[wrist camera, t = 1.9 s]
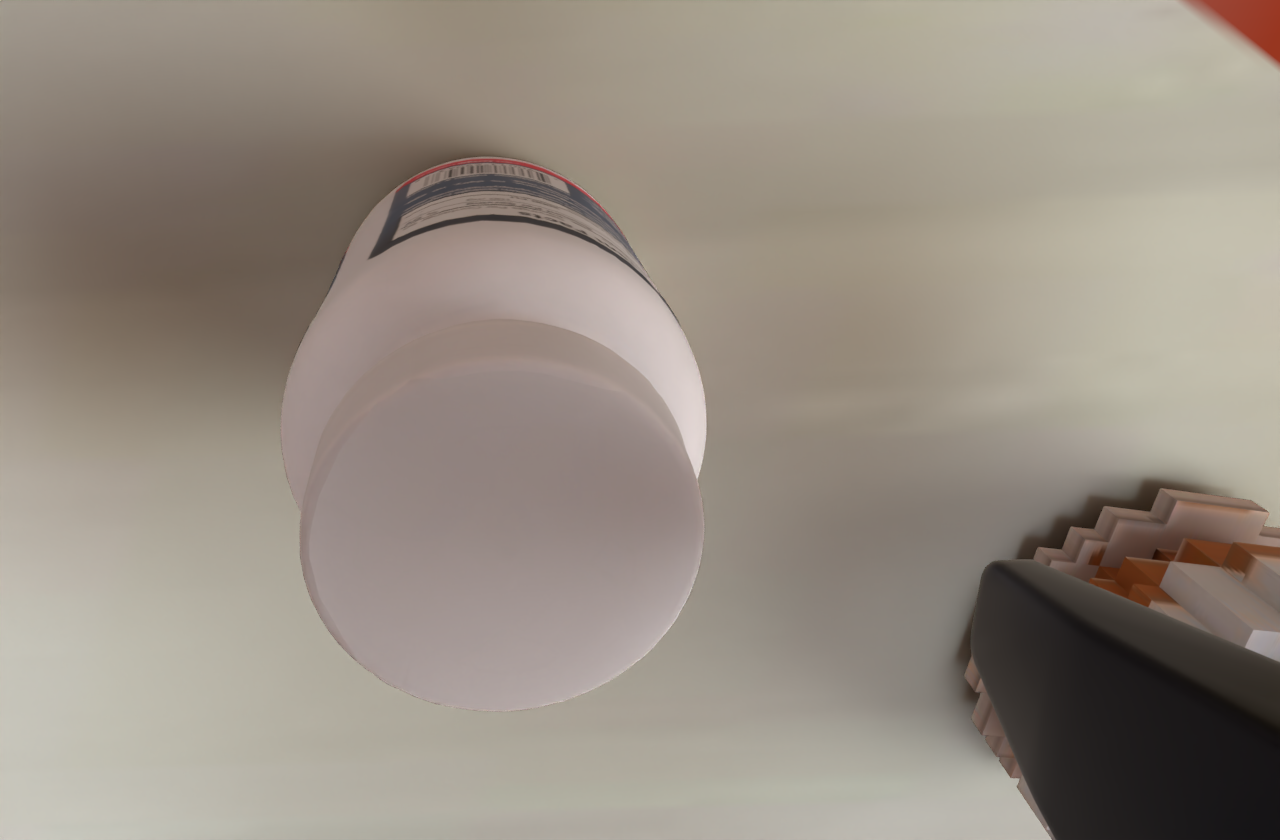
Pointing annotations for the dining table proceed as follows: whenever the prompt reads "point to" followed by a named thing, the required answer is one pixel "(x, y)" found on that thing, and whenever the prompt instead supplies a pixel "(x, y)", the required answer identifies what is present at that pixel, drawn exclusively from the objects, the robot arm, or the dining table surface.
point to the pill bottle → (495, 443)
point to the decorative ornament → (1169, 579)
